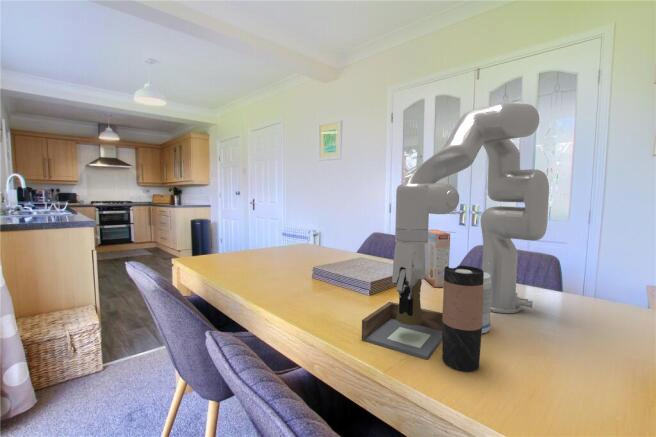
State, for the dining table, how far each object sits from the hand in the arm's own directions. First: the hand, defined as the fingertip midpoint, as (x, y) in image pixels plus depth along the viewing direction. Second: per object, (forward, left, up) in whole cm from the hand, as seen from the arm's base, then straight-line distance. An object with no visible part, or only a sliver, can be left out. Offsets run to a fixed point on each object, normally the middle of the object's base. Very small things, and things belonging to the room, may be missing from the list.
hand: (409, 310), depth 76 cm
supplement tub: (-11, -17, -8) cm, 21 cm away
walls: (+1, -2, -7) cm, 8 cm away
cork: (0, 0, -2) cm, 2 cm away
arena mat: (+1, -2, -7) cm, 8 cm away
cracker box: (+9, -55, -8) cm, 56 cm away
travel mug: (-13, +3, -8) cm, 15 cm away
